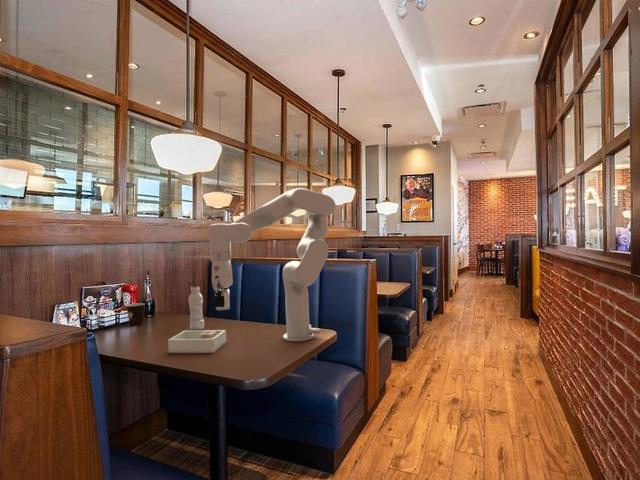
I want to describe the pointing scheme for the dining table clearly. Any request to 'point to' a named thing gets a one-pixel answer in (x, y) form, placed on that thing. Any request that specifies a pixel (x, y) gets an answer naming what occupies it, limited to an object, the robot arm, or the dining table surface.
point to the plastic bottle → (196, 309)
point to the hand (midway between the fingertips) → (222, 304)
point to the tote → (196, 342)
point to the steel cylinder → (226, 299)
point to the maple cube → (208, 335)
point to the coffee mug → (136, 313)
